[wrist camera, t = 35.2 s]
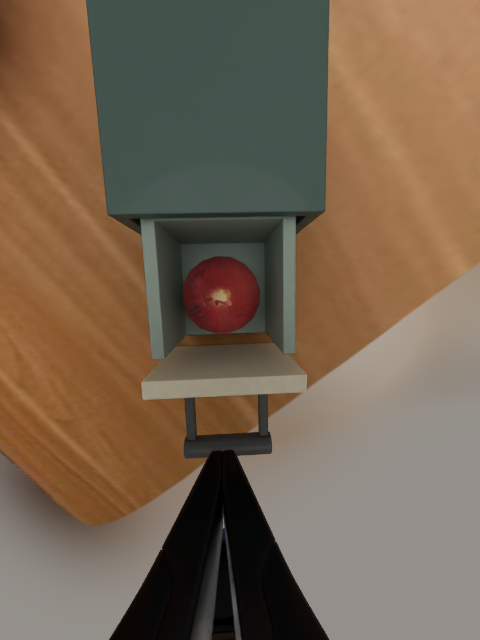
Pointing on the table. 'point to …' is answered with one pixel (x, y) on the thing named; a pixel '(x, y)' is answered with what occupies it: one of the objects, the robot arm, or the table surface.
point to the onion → (221, 294)
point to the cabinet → (211, 107)
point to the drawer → (221, 360)
